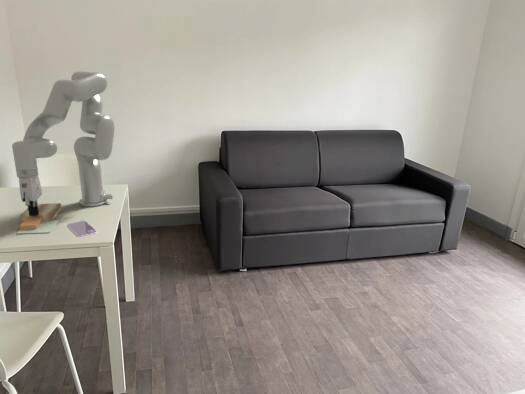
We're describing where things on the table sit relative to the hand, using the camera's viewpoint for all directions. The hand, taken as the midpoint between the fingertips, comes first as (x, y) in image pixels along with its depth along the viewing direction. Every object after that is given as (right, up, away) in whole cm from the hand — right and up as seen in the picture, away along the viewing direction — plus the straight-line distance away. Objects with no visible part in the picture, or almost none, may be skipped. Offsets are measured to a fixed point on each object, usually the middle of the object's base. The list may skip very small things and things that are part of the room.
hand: (34, 215), depth 167 cm
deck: (-2, -1, +9) cm, 9 cm away
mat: (+3, -5, -3) cm, 7 cm away
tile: (0, -4, -2) cm, 5 cm away
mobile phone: (+21, -6, -2) cm, 22 cm away
